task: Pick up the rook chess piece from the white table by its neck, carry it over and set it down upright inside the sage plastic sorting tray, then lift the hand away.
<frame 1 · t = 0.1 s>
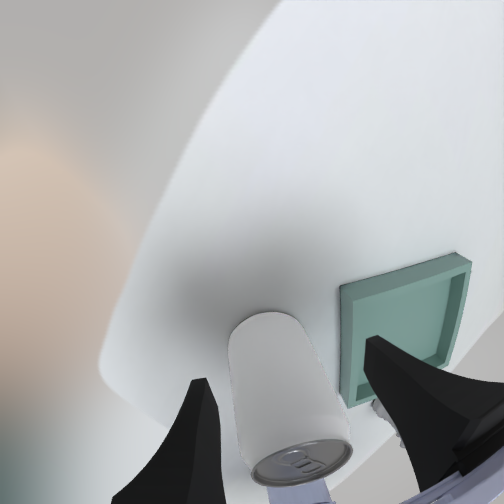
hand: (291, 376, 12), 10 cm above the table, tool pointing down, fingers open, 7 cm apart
can: (266, 340, 24), on the table
rook chess piece: (386, 396, 29), on the table
sorting tray: (400, 327, 25), on the table
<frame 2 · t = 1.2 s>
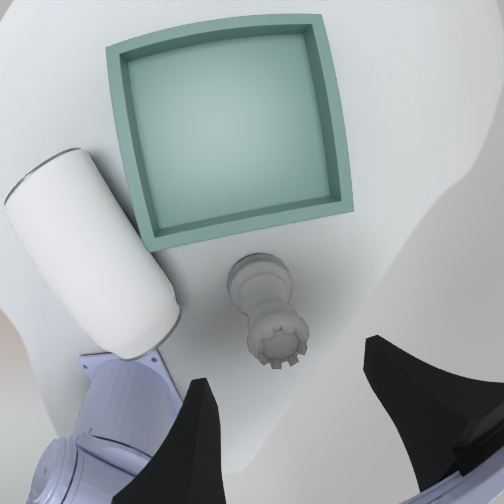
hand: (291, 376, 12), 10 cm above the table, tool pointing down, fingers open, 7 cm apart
can: (40, 174, 13), point 3 cm above the table
rook chess piece: (257, 279, 21), on the table
sorting tray: (230, 123, 17), on the table
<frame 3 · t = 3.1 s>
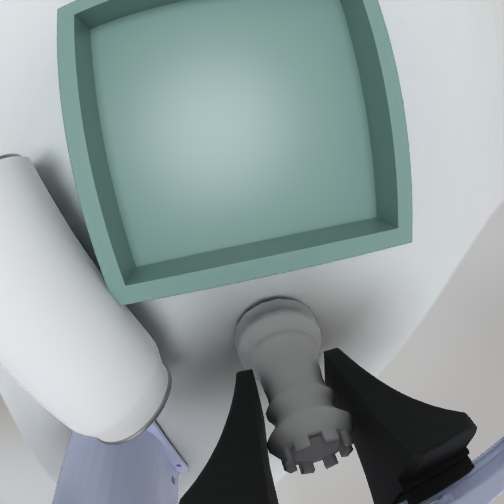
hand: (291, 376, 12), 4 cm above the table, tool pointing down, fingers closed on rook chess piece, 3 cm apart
rook chess piece: (274, 328, 15), on the table, touching gripper
sorting tray: (236, 110, 11), on the table
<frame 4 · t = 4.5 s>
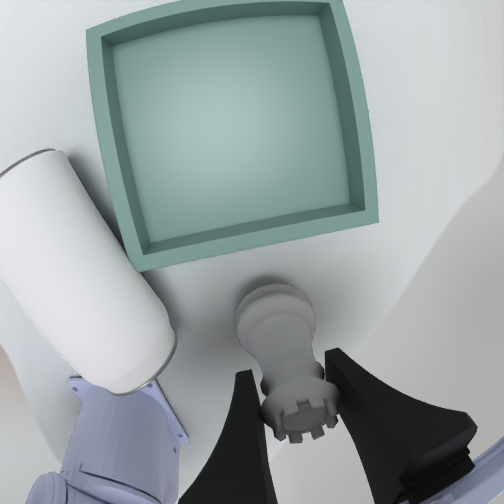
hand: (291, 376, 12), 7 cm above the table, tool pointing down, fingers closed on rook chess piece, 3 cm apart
can: (11, 180, 10), point 3 cm above the table
rook chess piece: (272, 312, 17), point 1 cm above the table, touching gripper
sorting tray: (232, 116, 14), on the table
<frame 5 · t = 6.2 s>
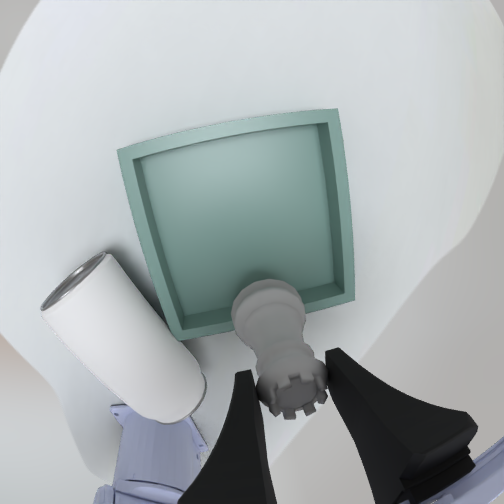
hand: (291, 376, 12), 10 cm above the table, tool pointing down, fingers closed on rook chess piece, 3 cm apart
can: (69, 277, 16), point 3 cm above the table
rook chess piece: (265, 307, 18), point 3 cm above the table, touching gripper
sorting tray: (245, 222, 20), on the table
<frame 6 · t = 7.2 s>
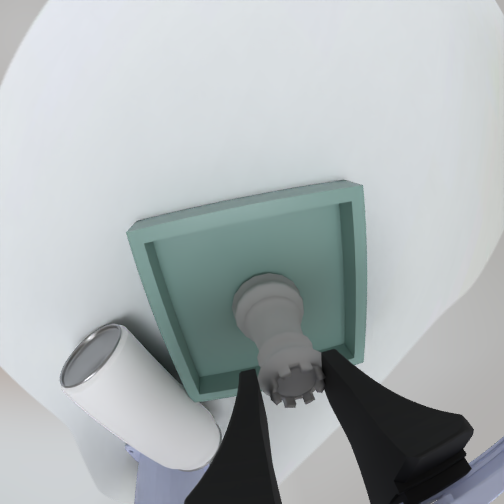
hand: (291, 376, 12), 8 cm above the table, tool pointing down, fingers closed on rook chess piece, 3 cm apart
can: (85, 351, 16), point 3 cm above the table
rook chess piece: (265, 300, 19), resting on sorting tray, touching gripper
sorting tray: (260, 294, 19), on the table
when the fingers open (5 cm above the table, at t = 8.5 s): rook chess piece stays where it is, resting on sorting tray.
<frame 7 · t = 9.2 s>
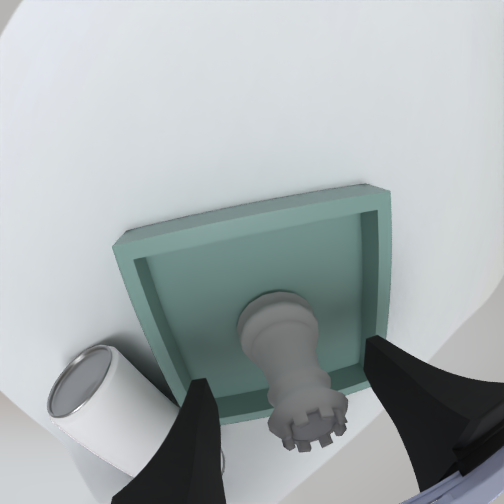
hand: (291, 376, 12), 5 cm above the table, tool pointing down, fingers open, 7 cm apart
can: (73, 376, 13), point 3 cm above the table
rook chess piece: (274, 320, 17), resting on sorting tray
sorting tray: (269, 313, 17), on the table
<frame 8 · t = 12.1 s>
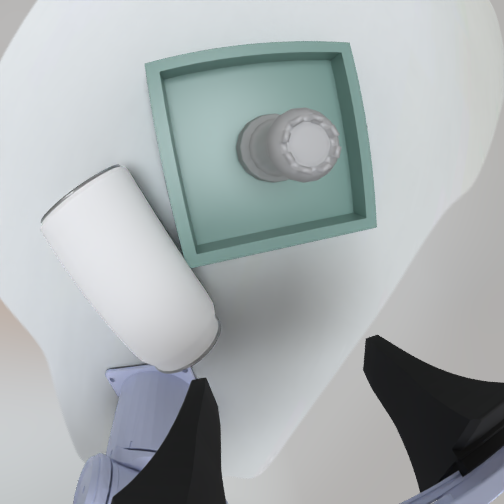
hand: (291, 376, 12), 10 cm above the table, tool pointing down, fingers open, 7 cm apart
can: (77, 189, 15), point 3 cm above the table
rook chess piece: (269, 148, 18), resting on sorting tray
sorting tray: (264, 144, 19), on the table
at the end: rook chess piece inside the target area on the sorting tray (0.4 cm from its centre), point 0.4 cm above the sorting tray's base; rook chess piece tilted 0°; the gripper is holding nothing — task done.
